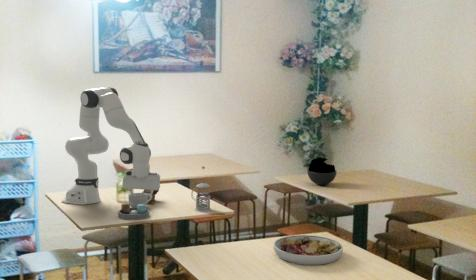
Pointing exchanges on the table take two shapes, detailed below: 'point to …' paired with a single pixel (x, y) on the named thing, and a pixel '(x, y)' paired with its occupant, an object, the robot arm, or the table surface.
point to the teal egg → (141, 208)
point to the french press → (202, 198)
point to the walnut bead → (125, 208)
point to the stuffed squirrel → (152, 195)
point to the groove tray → (133, 214)
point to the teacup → (139, 199)
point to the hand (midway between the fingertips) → (141, 197)
